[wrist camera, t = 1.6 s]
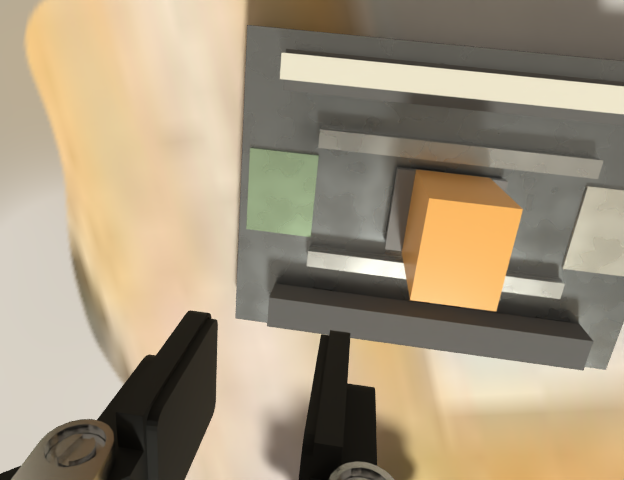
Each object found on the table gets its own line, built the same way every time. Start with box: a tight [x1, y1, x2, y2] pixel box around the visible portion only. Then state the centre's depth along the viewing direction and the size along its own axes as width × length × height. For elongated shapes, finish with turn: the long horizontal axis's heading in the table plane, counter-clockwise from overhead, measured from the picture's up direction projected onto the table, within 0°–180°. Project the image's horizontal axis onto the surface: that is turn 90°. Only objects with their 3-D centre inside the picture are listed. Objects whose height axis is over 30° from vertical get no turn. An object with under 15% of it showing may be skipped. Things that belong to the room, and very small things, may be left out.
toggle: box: [385, 167, 523, 311], centre depth 25 cm, size 6×5×7 cm
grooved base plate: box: [267, 49, 624, 370], centre depth 26 cm, size 19×16×3 cm
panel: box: [236, 25, 624, 370], centre depth 28 cm, size 24×18×3 cm
